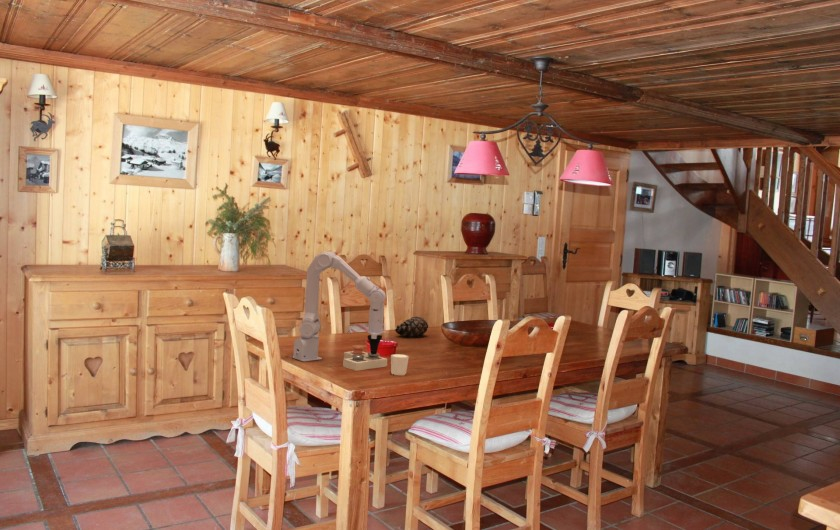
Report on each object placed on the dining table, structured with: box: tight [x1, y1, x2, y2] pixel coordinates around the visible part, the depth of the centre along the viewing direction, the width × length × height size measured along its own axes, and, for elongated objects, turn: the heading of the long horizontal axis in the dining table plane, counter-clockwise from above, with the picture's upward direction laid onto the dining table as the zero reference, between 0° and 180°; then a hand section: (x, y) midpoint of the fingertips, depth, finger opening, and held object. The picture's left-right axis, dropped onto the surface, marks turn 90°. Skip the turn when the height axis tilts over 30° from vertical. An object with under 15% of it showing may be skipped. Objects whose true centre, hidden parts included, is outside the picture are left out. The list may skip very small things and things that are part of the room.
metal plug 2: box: [367, 351, 380, 360], centre depth 284 cm, size 5×5×4 cm
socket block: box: [342, 350, 388, 372], centre depth 285 cm, size 16×18×3 cm
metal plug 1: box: [352, 354, 364, 362], centre depth 279 cm, size 5×5×4 cm
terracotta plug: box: [352, 344, 365, 355], centre depth 291 cm, size 5×5×4 cm
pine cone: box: [394, 316, 429, 339], centre depth 353 cm, size 10×18×10 cm, turn 140°
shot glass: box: [390, 353, 409, 376], centre depth 274 cm, size 7×7×7 cm
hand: (373, 353), depth 284 cm, fingers closed, pressing on metal plug 2
